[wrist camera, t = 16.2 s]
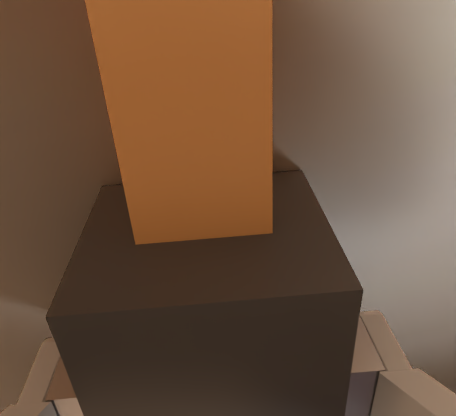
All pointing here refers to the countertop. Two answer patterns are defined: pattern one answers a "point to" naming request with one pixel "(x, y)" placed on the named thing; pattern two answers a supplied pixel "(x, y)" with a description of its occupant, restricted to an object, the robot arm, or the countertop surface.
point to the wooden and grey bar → (201, 233)
